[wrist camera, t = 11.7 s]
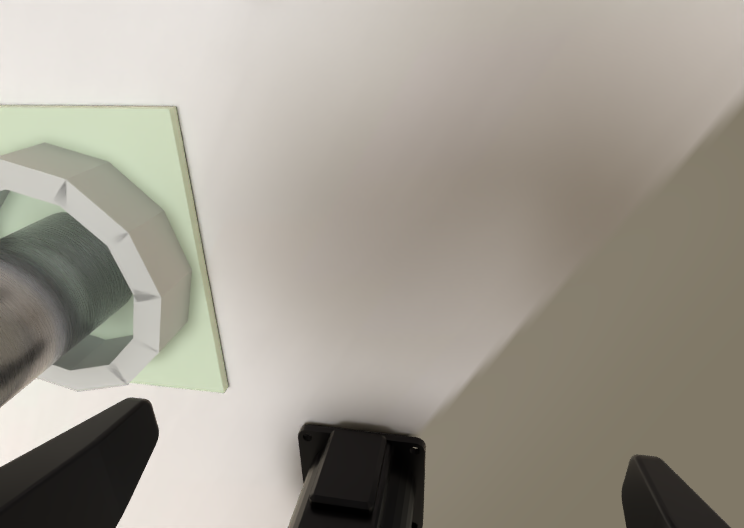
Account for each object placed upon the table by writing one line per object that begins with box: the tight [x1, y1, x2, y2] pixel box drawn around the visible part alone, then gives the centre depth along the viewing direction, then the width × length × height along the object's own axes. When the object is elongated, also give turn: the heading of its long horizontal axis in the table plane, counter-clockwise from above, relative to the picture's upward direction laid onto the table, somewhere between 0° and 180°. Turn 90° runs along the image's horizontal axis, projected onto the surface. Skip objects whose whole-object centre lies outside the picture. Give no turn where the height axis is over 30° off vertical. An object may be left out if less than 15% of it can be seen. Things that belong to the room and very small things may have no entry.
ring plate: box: [0, 105, 228, 393], centre depth 23 cm, size 14×12×3 cm
